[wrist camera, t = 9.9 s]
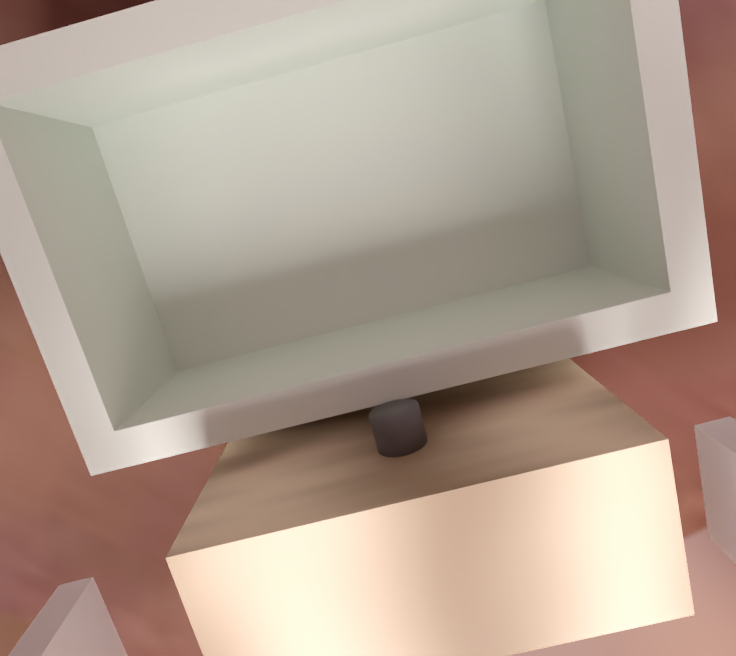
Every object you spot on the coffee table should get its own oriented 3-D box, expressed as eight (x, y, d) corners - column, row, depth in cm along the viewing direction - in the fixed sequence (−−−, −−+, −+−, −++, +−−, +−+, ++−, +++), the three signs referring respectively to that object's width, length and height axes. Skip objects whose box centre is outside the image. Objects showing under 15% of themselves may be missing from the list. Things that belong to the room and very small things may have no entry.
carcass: (224, 551, 22) (174, 680, 16) (65, 107, 18) (-76, 67, 12) (640, 452, 21) (745, 552, 15) (561, -34, 17) (660, -147, 12)
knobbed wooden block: (284, 498, 21) (227, 717, 12) (244, 374, 20) (150, 518, 11) (553, 434, 20) (694, 615, 12) (527, 303, 19) (661, 394, 11)
